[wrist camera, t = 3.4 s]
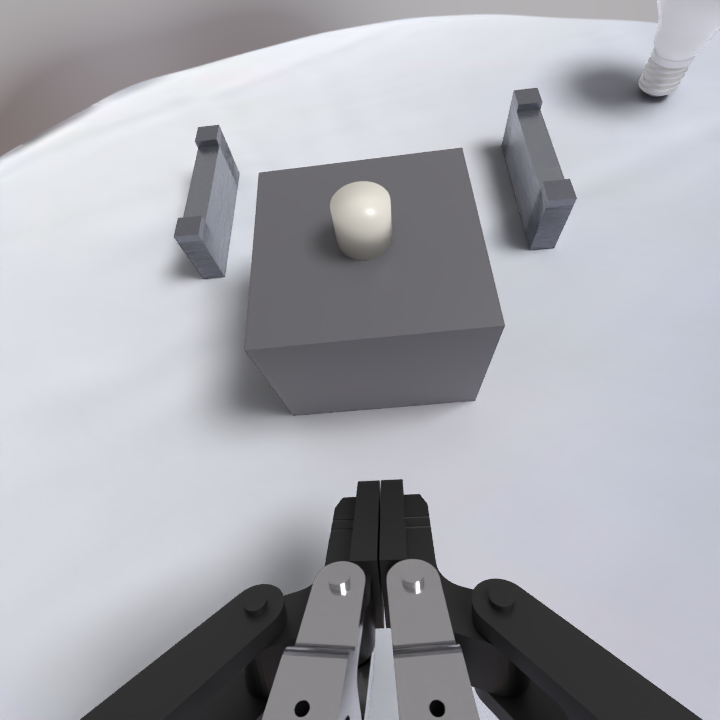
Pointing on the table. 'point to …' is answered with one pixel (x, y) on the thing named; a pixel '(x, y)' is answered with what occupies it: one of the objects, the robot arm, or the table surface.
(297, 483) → the table surface
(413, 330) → the plug block
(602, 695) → the robot arm
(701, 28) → the lightbulb
